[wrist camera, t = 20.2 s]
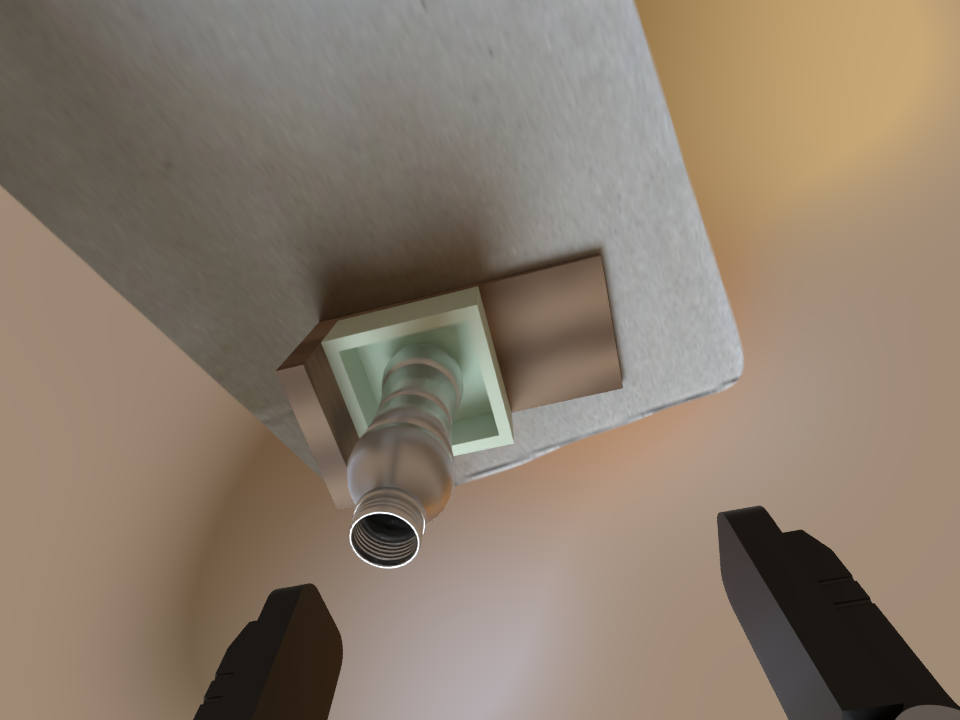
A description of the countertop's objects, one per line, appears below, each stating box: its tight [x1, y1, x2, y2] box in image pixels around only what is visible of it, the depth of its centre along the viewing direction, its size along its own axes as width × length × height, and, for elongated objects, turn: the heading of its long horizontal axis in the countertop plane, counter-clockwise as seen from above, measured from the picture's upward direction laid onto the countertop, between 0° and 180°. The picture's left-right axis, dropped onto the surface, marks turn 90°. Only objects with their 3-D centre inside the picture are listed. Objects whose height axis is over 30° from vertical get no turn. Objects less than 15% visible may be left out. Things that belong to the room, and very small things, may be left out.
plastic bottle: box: [347, 343, 464, 568], centre depth 35 cm, size 6×7×20 cm
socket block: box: [321, 286, 514, 456], centre depth 43 cm, size 12×12×5 cm
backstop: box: [276, 254, 623, 510], centre depth 41 cm, size 12×24×10 cm, turn 104°
